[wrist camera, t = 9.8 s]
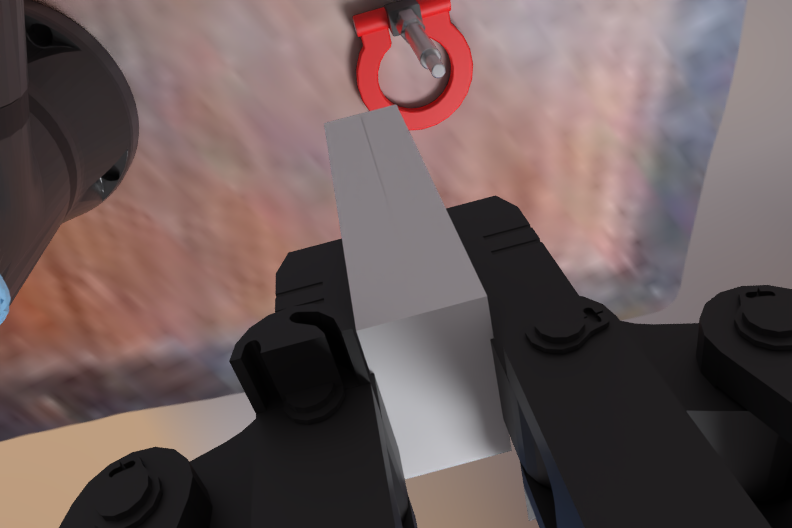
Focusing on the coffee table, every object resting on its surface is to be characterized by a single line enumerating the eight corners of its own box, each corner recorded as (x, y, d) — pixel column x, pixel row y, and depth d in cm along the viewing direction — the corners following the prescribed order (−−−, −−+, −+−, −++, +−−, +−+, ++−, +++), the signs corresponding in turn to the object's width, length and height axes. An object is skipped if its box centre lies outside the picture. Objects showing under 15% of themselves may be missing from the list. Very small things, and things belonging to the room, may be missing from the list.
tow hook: (476, 107, 47) (457, -19, 41) (531, 187, 36) (515, 33, 31) (371, 137, 47) (338, 15, 41) (396, 225, 36) (356, 78, 31)
